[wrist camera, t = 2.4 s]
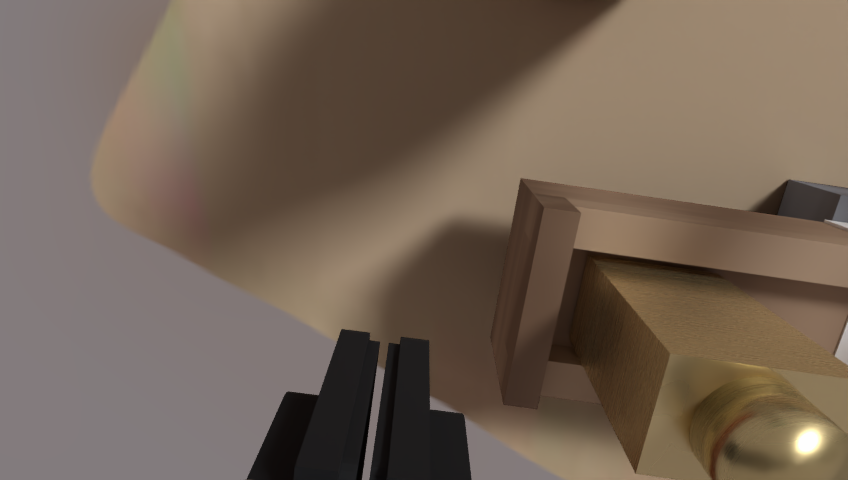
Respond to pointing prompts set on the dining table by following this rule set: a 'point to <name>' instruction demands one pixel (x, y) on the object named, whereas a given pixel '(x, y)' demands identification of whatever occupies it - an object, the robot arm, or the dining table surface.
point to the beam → (662, 245)
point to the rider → (707, 377)
